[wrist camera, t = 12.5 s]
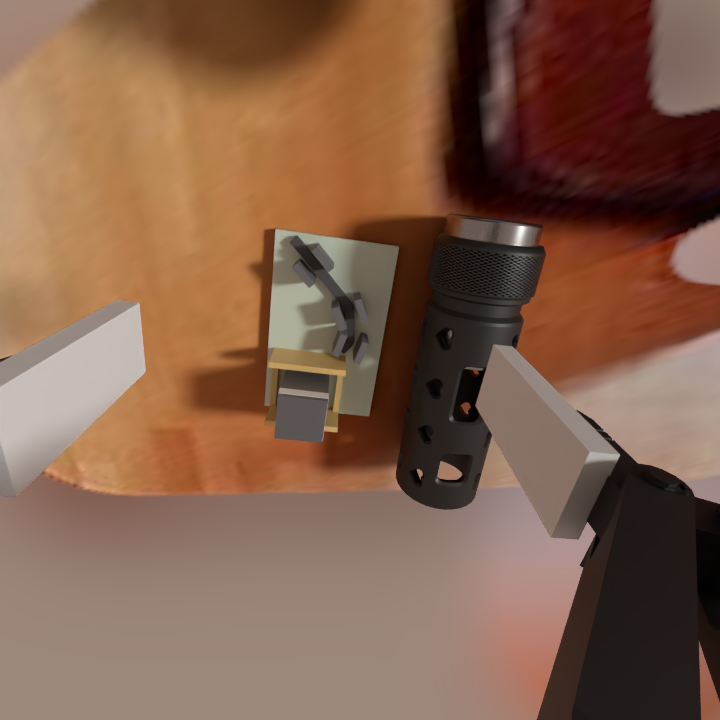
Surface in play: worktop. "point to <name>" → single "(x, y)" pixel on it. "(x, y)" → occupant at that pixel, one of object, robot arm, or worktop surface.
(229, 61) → the worktop surface
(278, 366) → the end holder
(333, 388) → the board
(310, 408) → the plug
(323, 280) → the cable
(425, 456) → the muzzle brake
